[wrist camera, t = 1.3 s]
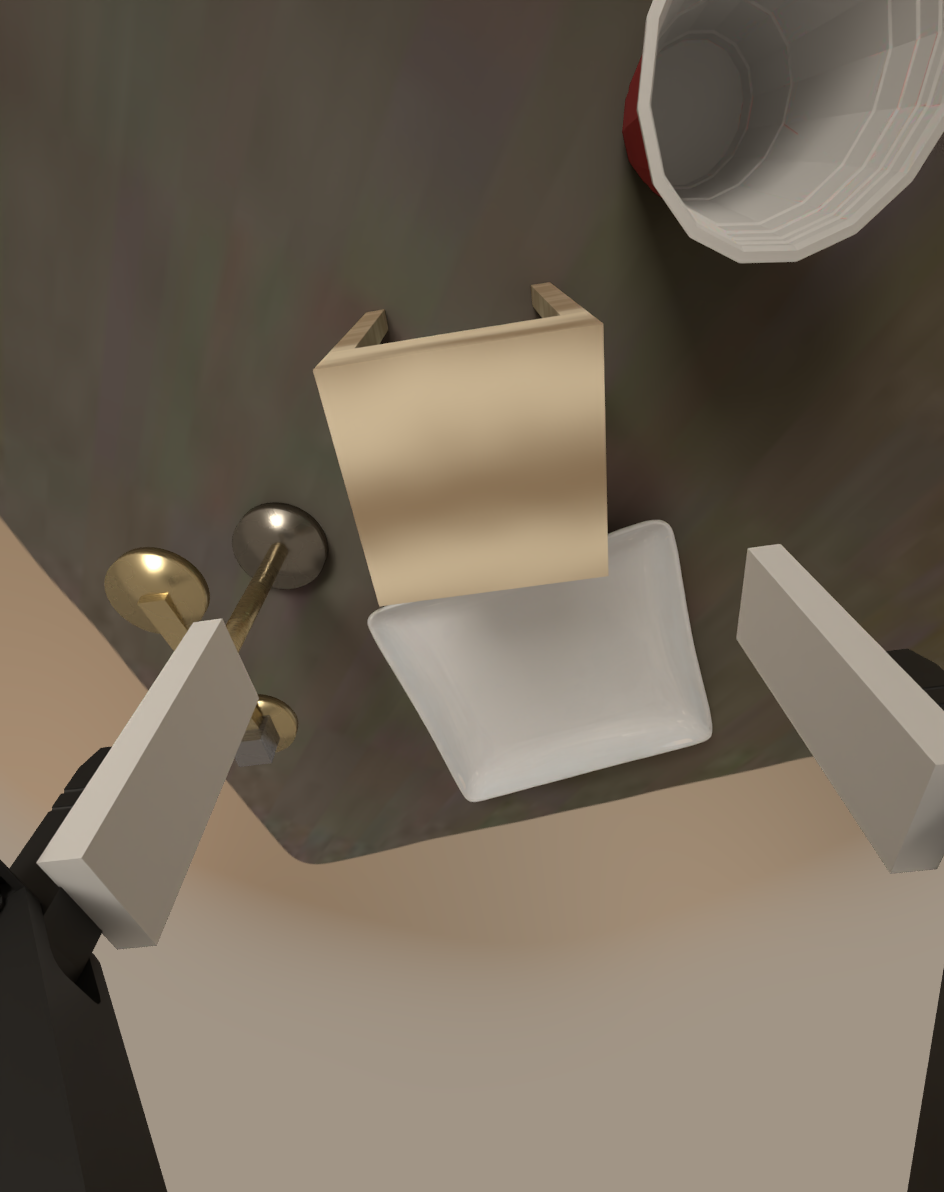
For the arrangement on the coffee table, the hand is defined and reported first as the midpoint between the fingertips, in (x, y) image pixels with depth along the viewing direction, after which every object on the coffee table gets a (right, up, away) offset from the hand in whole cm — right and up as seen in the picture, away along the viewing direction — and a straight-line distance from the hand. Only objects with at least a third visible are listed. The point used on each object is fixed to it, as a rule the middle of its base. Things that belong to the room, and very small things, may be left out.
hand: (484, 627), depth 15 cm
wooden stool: (0, +13, +19) cm, 23 cm away
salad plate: (+6, -4, +31) cm, 32 cm away
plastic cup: (+10, +24, +13) cm, 29 cm away
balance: (-13, +4, +25) cm, 28 cm away
